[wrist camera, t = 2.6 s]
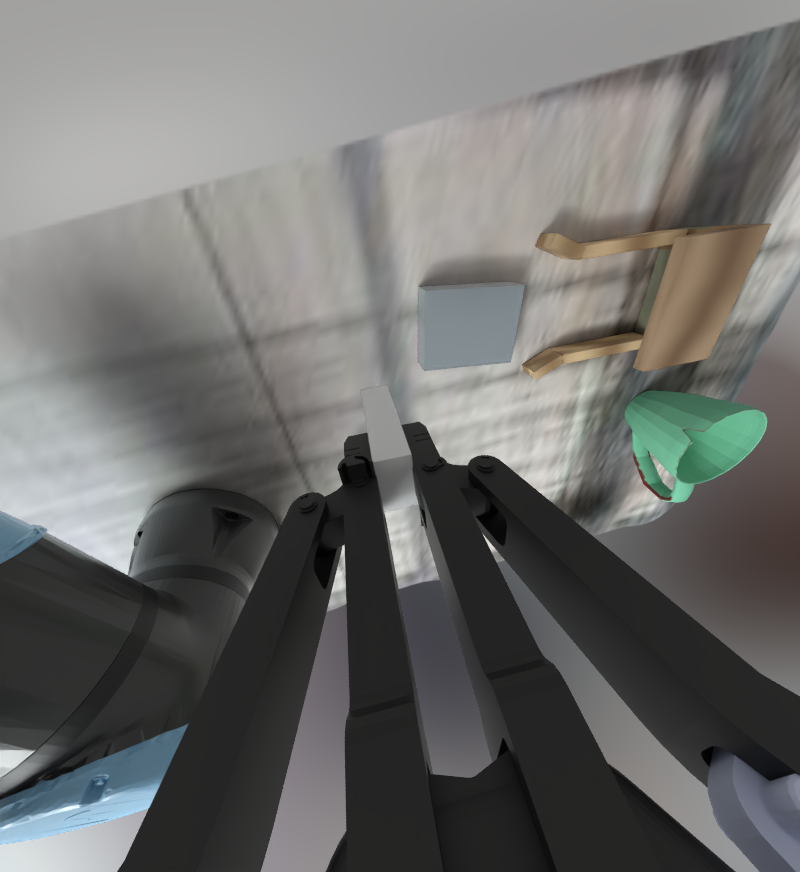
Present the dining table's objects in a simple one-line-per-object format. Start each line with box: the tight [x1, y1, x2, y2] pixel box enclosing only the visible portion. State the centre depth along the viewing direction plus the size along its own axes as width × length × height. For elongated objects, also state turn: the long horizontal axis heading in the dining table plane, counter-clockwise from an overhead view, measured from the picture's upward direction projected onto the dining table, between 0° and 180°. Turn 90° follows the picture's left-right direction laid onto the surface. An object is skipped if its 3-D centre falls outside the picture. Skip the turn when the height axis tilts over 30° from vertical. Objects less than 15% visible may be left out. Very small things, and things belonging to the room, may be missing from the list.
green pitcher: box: [624, 391, 768, 502], centre depth 38 cm, size 15×10×10 cm
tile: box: [418, 281, 525, 371], centre depth 29 cm, size 9×7×3 cm
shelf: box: [522, 224, 771, 380], centre depth 28 cm, size 15×13×7 cm
